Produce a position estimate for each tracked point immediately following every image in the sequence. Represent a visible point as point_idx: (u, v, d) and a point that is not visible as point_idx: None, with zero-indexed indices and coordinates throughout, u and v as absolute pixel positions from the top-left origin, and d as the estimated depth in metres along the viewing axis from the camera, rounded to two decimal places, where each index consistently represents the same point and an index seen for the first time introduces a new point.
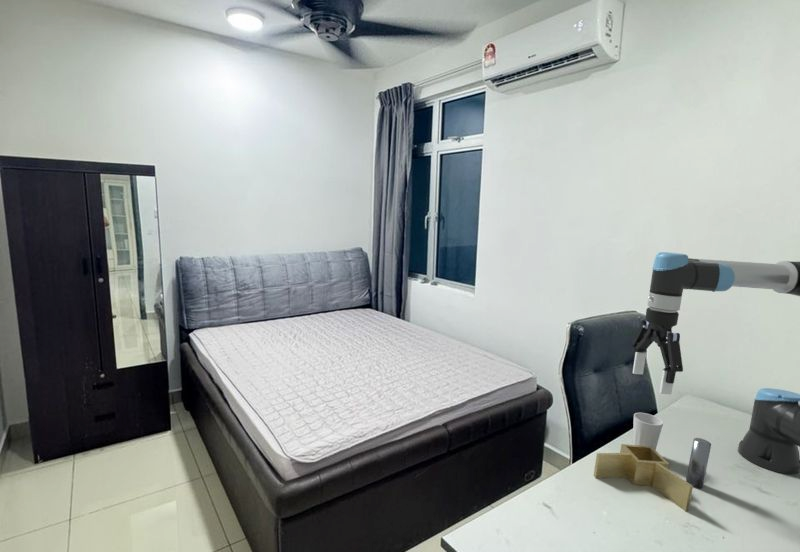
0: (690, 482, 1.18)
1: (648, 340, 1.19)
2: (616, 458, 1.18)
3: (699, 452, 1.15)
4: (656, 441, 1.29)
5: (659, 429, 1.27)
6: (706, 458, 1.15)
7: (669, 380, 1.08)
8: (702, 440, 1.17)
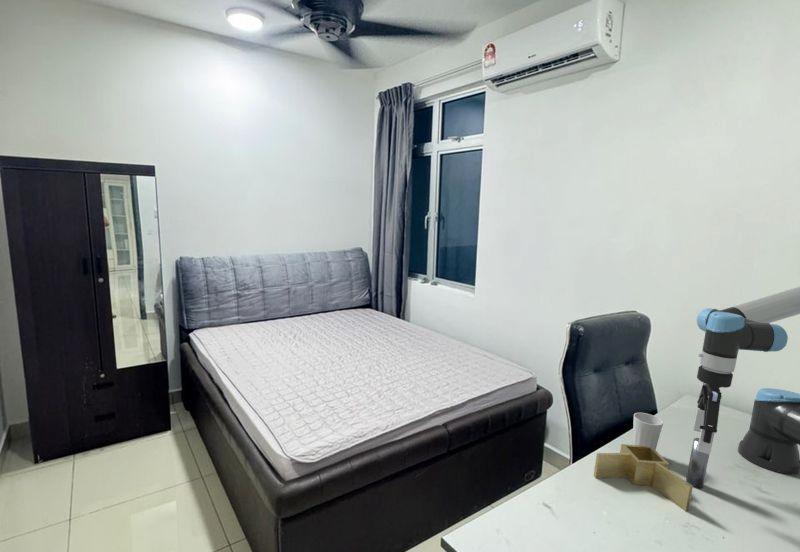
0: (690, 482, 1.18)
1: None
2: (616, 458, 1.18)
3: (699, 452, 1.15)
4: (656, 441, 1.29)
5: (659, 429, 1.27)
6: (706, 458, 1.15)
7: (704, 439, 1.09)
8: None
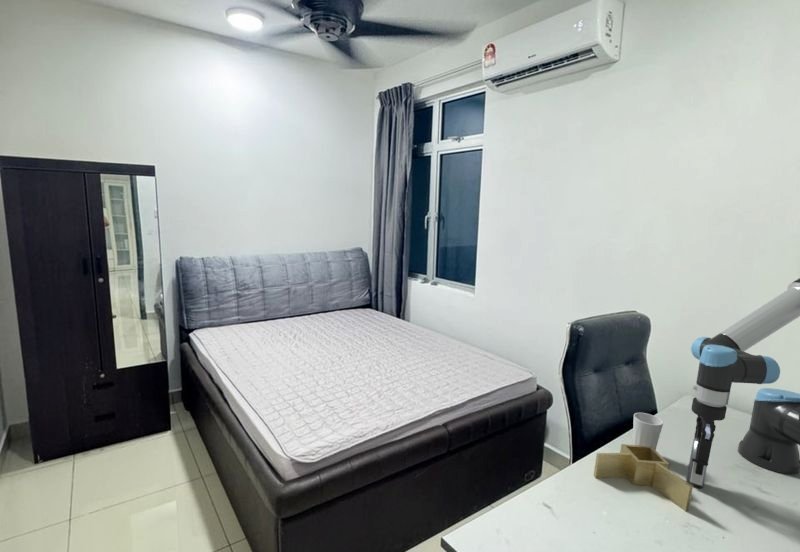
0: (690, 482, 1.18)
1: None
2: (616, 458, 1.18)
3: None
4: (656, 441, 1.29)
5: (659, 429, 1.27)
6: None
7: (696, 471, 1.15)
8: None
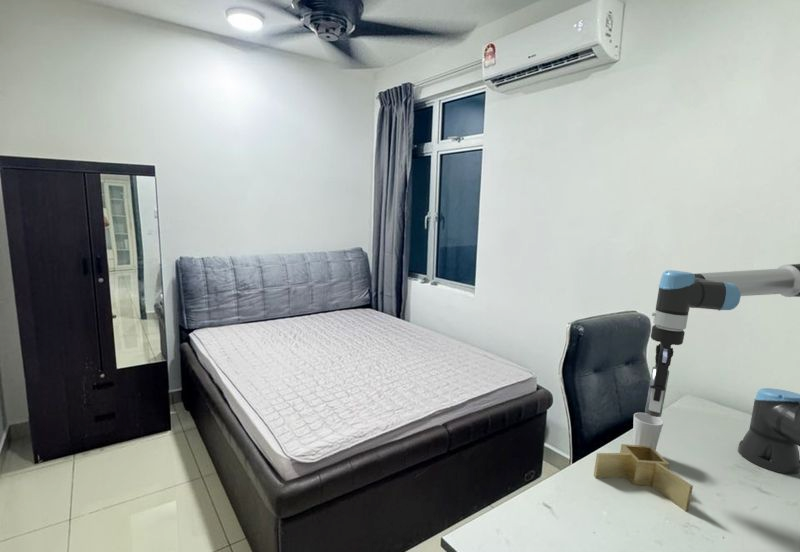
0: (648, 411, 1.17)
1: None
2: (616, 458, 1.18)
3: None
4: (656, 441, 1.29)
5: (659, 429, 1.27)
6: None
7: (654, 397, 1.14)
8: None
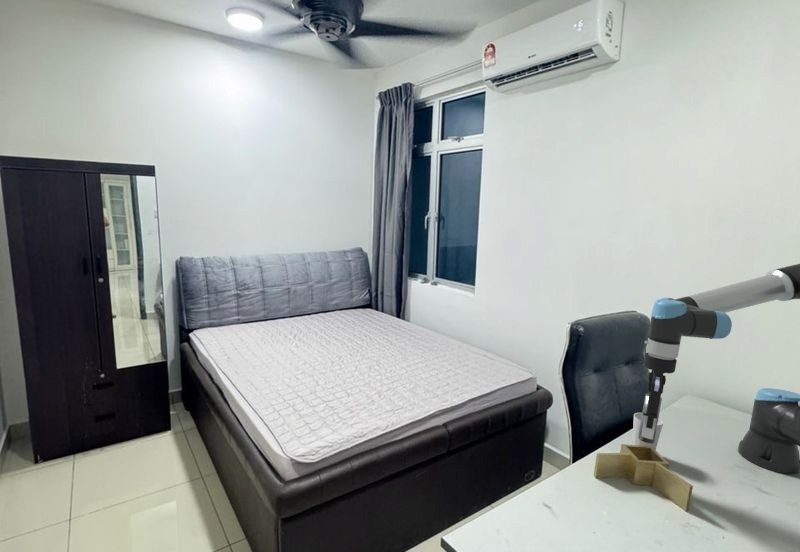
0: (641, 437, 1.18)
1: None
2: (616, 458, 1.18)
3: None
4: (656, 441, 1.29)
5: (659, 429, 1.27)
6: None
7: (647, 425, 1.15)
8: None
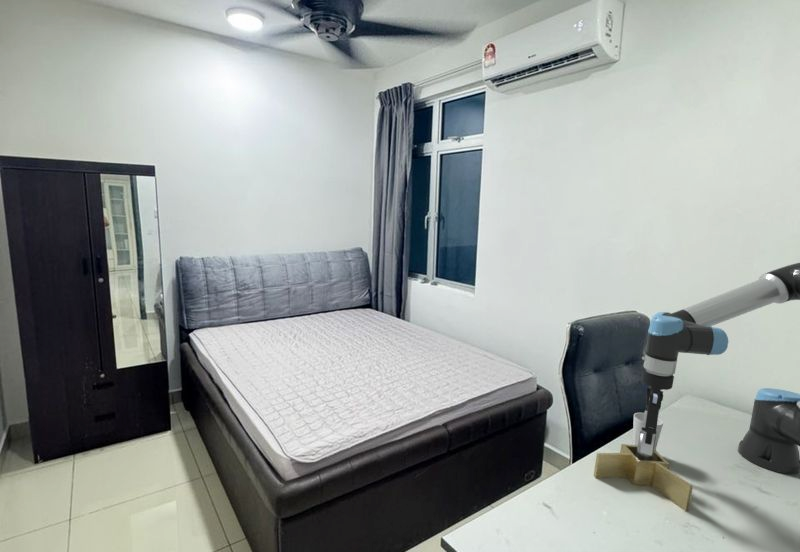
0: None
1: None
2: (616, 458, 1.18)
3: None
4: (656, 441, 1.29)
5: (659, 429, 1.27)
6: None
7: (646, 440, 1.12)
8: None
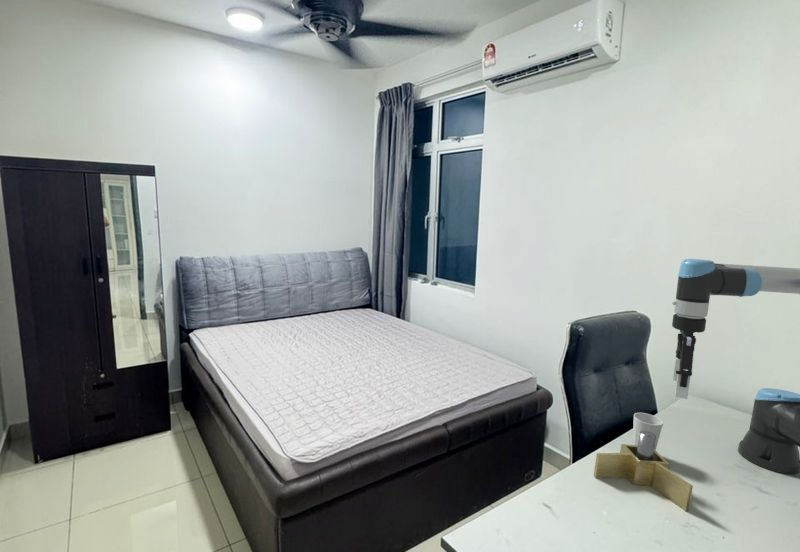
0: None
1: None
2: (616, 458, 1.18)
3: (644, 444, 1.18)
4: (656, 441, 1.29)
5: (659, 429, 1.27)
6: (651, 450, 1.17)
7: (681, 383, 1.11)
8: (648, 433, 1.19)
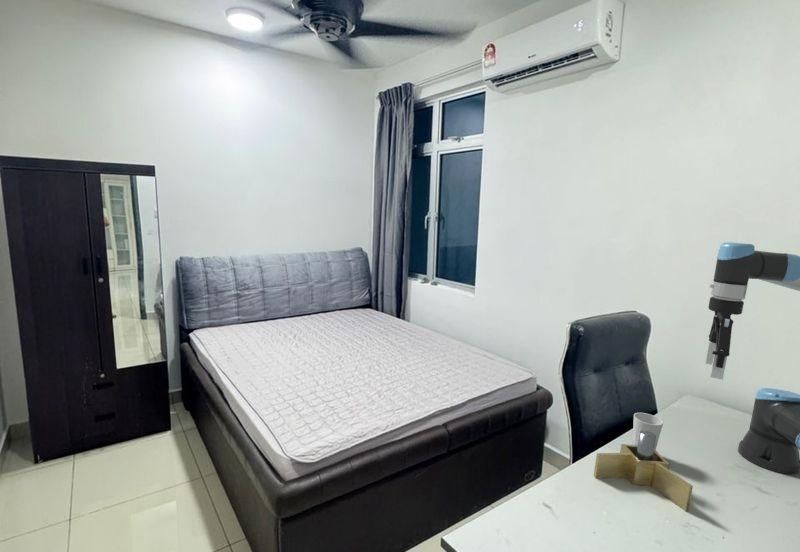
0: None
1: None
2: (616, 458, 1.18)
3: (644, 444, 1.18)
4: (656, 441, 1.29)
5: (659, 429, 1.27)
6: (651, 450, 1.17)
7: (717, 364, 1.12)
8: (648, 433, 1.19)
